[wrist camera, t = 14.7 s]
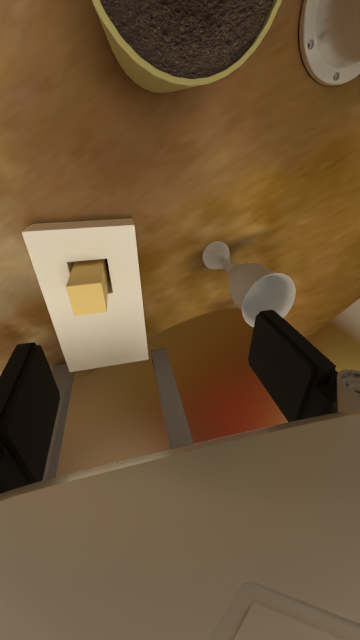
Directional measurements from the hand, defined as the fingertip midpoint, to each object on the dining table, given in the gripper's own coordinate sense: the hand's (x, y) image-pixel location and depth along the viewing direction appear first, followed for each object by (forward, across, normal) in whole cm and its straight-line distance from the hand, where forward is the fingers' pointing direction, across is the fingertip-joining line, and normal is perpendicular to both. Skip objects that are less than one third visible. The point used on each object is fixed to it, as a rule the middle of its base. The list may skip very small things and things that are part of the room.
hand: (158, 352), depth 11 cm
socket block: (+32, +6, +12) cm, 35 cm away
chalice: (+32, -15, +7) cm, 36 cm away
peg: (+32, +6, +7) cm, 34 cm away
